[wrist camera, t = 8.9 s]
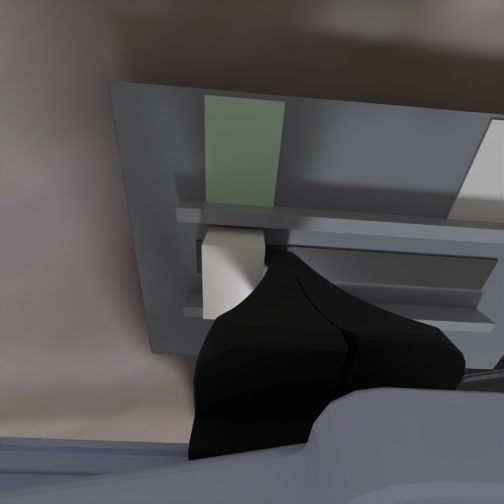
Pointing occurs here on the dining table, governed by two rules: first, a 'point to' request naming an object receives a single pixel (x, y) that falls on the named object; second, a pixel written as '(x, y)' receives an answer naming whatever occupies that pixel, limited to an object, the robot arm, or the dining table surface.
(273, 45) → the dining table surface
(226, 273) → the block
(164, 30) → the dining table surface
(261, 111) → the panel
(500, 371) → the phone
